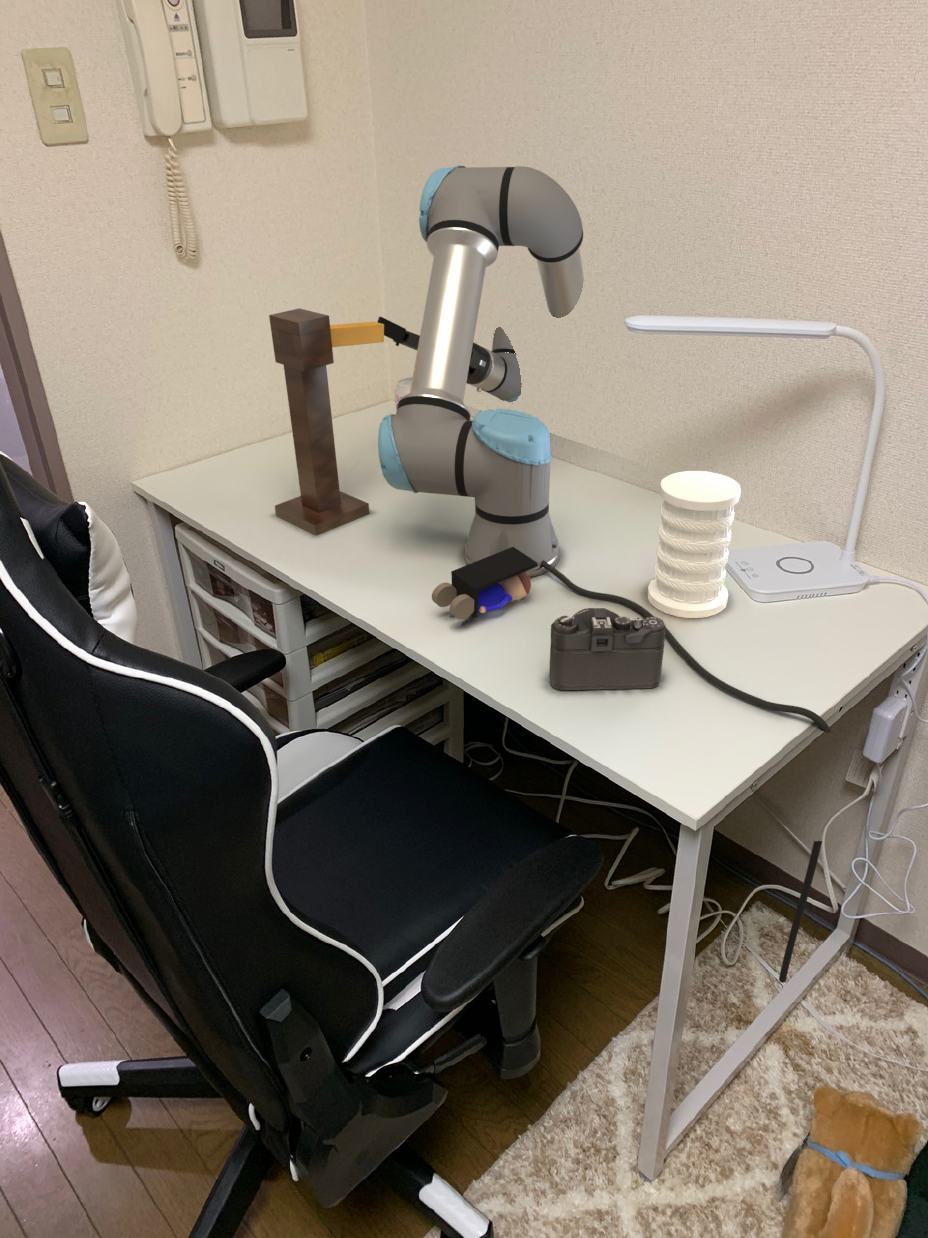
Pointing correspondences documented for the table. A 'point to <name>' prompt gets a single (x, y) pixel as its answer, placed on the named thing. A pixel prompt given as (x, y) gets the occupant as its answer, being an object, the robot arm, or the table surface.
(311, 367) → the stand
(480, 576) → the figurine character
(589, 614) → the camera
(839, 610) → the table surface
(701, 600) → the decorative container
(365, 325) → the peg
